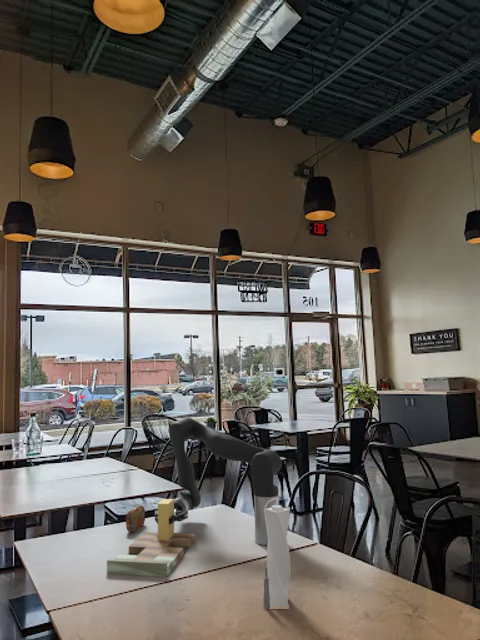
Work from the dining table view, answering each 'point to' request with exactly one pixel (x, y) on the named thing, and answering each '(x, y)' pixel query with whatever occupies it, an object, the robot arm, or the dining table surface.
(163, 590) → the dining table surface
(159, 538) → the block
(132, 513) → the tin
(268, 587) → the skyscraper
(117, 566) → the board
